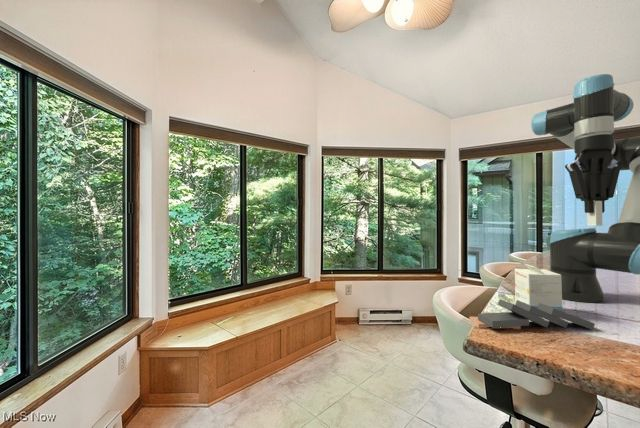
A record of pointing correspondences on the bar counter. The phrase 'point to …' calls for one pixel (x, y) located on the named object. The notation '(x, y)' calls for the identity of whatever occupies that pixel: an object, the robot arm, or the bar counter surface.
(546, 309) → the domino
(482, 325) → the domino
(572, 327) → the bar counter surface
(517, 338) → the bar counter surface
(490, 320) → the domino
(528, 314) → the domino
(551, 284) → the ink box
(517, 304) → the domino
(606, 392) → the bar counter surface
